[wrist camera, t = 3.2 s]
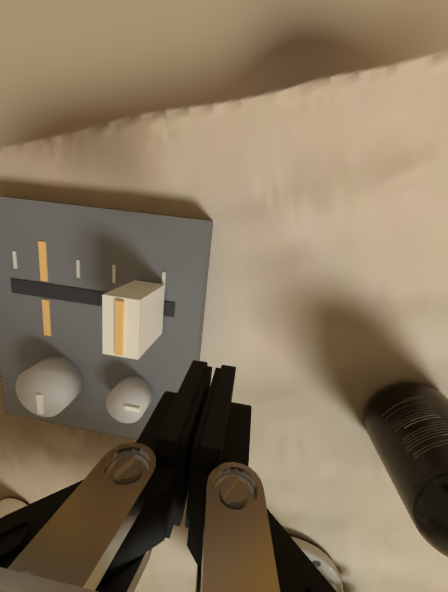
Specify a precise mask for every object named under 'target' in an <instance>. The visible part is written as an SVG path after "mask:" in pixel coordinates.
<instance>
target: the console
mask: <svg viewBox="0 0 448 592" xmlns="http://www.w3.org/2000/svg"><path fill="white" fill-rule="evenodd" d="M212 227H213V221H209V220H200V219H191V218H183V217H174V216H166V215H157V214H148V213H140V212H131V211H123V210H114V209H105V208H97V207H88V206H80V205H71V204H62V203H54V202H45V201H36V200H28V199H19V198H11V197H2V196H0V369H1V378H2V387H3V396H4V405H5V413H7V414H12V415H17V416H22V417H27V418H32V419H37V420H42V421H47V422H52V423H57V424H62V425H67V426H71V427H76V428H81V429H86V430H91V431H96V432H101V433H106V434H111V435H116V436H121V437H126V438H131V439H136V440H138V438H139V437H140V435H141V433H142V431H143V429H144V428H145V426H146V424H147V422H148V420H149V419H150V417H151V415H152V413H153V411H154V410H155V408H156V406H157V404H158V402H159V401H160V399H161V397H162V395H163V393H164V392H165V391H170V392H176V393H178V391H179V388H180V386H181V384H182V382H183V380H184V378H185V376H186V374H187V372H188V370H189V367H190V365H191V363H192V361H193V360H196V361H200V350H201V340H202V330H203V319H204V309H205V299H206V288H207V278H208V268H209V258H210V247H211V237H212ZM134 280H137V281H144V282H151V283H158V284H165V292H164V310H163V328H162V334H161V335H160V336H159V337H158V338H157V340H156V341H155V342H154V343H153V344H152V345H151V346H150V347H149V348H148V349H147V350H146V352H145V353H144V354H143V355H142V356H141V357H140V358H139V359H138V360H136V359H130V358H124V357H118V356H113V355H107V354H103V353H102V294H105V293H107V292H109V291H111V290H114V289H116V288H118V287H120V286H123V285H125V284H127V283H130V282H132V281H134Z"/></svg>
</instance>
